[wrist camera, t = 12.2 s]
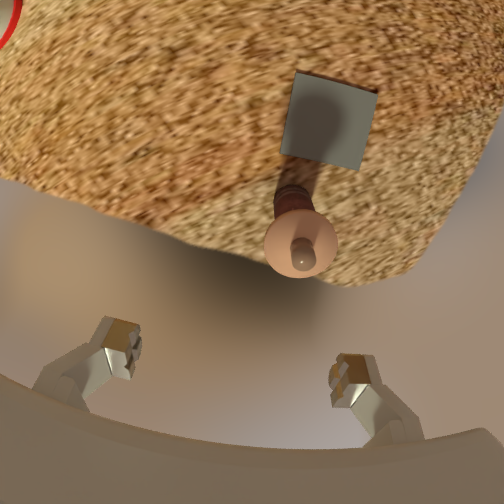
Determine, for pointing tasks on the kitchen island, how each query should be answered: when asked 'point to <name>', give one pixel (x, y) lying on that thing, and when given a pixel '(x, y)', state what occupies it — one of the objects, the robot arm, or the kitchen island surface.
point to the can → (291, 200)
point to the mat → (328, 121)
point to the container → (8, 18)
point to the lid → (300, 243)
